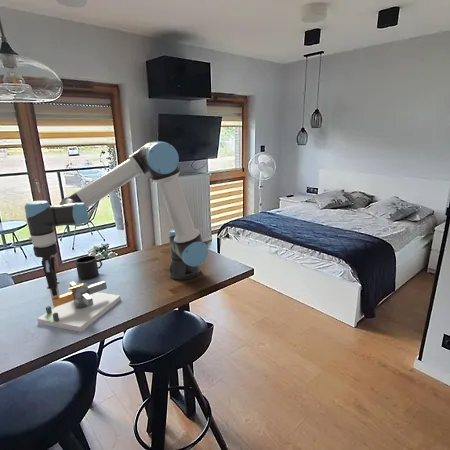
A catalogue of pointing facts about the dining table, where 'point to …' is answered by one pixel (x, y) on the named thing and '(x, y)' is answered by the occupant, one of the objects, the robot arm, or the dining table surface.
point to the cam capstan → (79, 294)
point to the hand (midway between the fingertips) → (56, 301)
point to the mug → (87, 267)
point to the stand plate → (78, 312)
